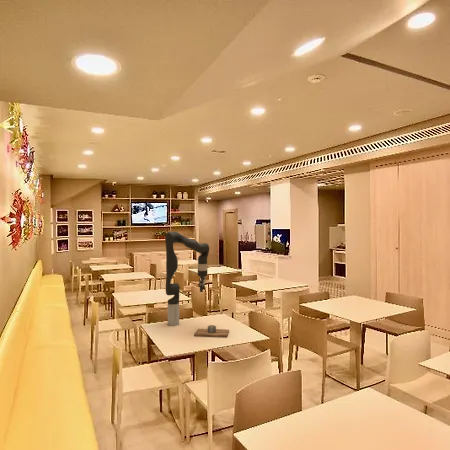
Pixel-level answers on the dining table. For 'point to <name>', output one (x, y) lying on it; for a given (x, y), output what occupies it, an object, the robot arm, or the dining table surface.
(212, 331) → the steel ring
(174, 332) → the dining table surface
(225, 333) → the post base
